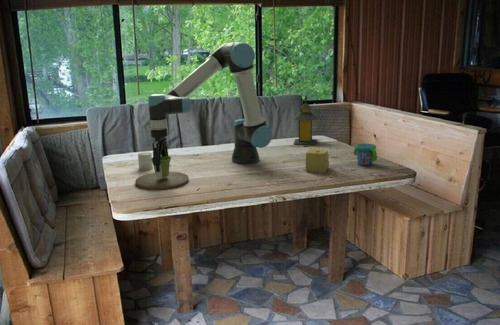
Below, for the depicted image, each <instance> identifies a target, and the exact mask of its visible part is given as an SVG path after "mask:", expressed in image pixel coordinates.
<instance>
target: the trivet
mask: <svg viewBox="0 0 500 325" xmlns="http://www.w3.org/2000/svg"><path fill="white" fill-rule="evenodd" d="M189 180H190V178H189V176H188V174H186V173H183V172H179V171H169V175H168V176H167V177H162V178H156V175H155V172H150V173H146V174H143V175H140V176H138V177H137V178H136V179H135V186H136V187H137V188H139V189H141V190H147V191H166V190H173V189H176V188H177V189H178V188H180V187H183V186H185V185H187V184H188V183H189Z"/></svg>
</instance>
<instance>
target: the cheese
mask: <svg viewBox="0 0 500 325" xmlns="http://www.w3.org/2000/svg"><path fill="white" fill-rule="evenodd" d="M329 156H330V154H329V153H328V151H327V150H325V149H321V148H316V147H309V148H308V151H307V152H306V153H305V172H311V173H323V174H324V173H326V172H327V170H328V169H329V167H330V161H329Z"/></svg>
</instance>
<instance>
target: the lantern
mask: <svg viewBox="0 0 500 325" xmlns="http://www.w3.org/2000/svg"><path fill="white" fill-rule="evenodd" d="M307 100H308V94H307V95H304V103H303V104H302V105H301V106H300V108H299V109H300V111H299V113H297V115H296V116H295V117H294V121H295V120H296V121H298V138H295V139H294V141H293V145H294V146H317V142H318V139H316V138H313V121H316V120H317V119H318V118H317V116H316V114H315V113H314V112H312V111H311V109H312V106H311V105H310V104H309V103H308V101H307Z"/></svg>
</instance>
